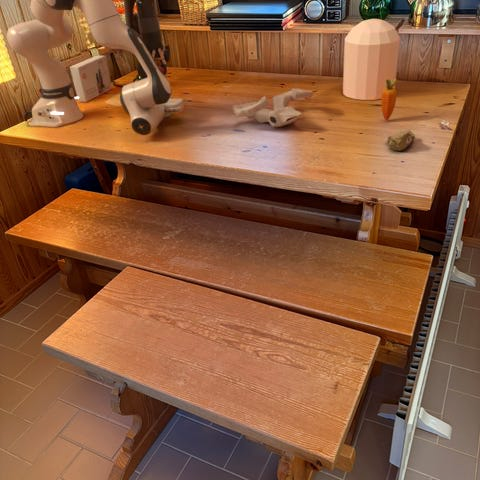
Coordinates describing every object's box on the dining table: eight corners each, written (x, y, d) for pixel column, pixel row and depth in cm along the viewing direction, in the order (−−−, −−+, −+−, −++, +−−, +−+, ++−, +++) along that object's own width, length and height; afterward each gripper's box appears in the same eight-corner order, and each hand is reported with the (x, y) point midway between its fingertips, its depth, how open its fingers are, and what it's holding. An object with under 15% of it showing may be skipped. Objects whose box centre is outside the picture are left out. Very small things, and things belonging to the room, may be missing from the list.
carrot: (394, 118, 167) (398, 76, 158) (393, 123, 163) (397, 80, 154) (379, 117, 168) (383, 75, 160) (378, 122, 165) (382, 80, 156)
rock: (408, 140, 153) (379, 139, 152) (414, 122, 149) (384, 120, 148) (421, 154, 144) (391, 153, 143) (428, 135, 140) (396, 133, 139)
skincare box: (87, 102, 214) (77, 67, 204) (78, 102, 215) (68, 66, 206) (113, 88, 229) (105, 54, 220) (104, 88, 231) (96, 54, 222)
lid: (150, 75, 178) (149, 71, 178) (151, 71, 183) (150, 67, 182) (164, 73, 178) (163, 69, 178) (165, 70, 183) (164, 66, 182)
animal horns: (230, 133, 167) (227, 101, 161) (244, 110, 188) (241, 81, 182) (308, 133, 161) (308, 99, 155) (313, 109, 182) (314, 78, 176)
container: (363, 103, 182) (369, 26, 166) (332, 90, 198) (334, 19, 182) (405, 92, 188) (414, 17, 172) (372, 81, 205) (377, 11, 189)
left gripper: (178, 102, 173) (186, 90, 184) (126, 104, 176) (137, 92, 187) (181, 118, 177) (189, 106, 188) (130, 120, 180) (141, 107, 191)
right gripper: (159, 25, 178) (167, 70, 188) (128, 32, 170) (137, 79, 180) (171, 26, 173) (178, 73, 183) (139, 34, 166) (148, 82, 175)
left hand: (163, 99), depth 188 cm, fingers closed on jar, 5 cm apart
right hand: (158, 76), depth 181 cm, fingers closed on lid, 5 cm apart
